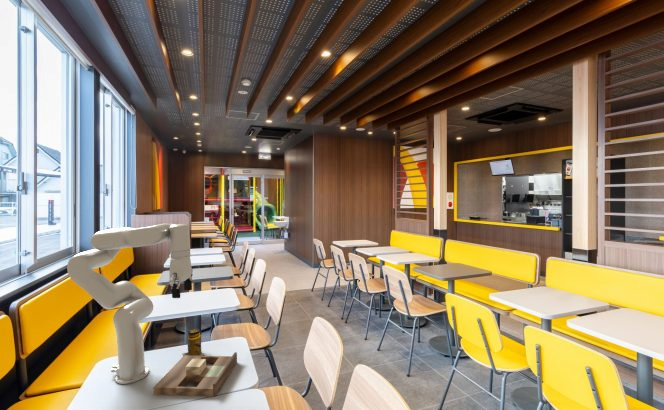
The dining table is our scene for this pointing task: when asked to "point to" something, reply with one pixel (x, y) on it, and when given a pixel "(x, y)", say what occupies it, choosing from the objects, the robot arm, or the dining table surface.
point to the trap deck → (197, 377)
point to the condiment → (194, 343)
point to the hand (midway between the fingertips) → (182, 293)
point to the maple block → (195, 366)
